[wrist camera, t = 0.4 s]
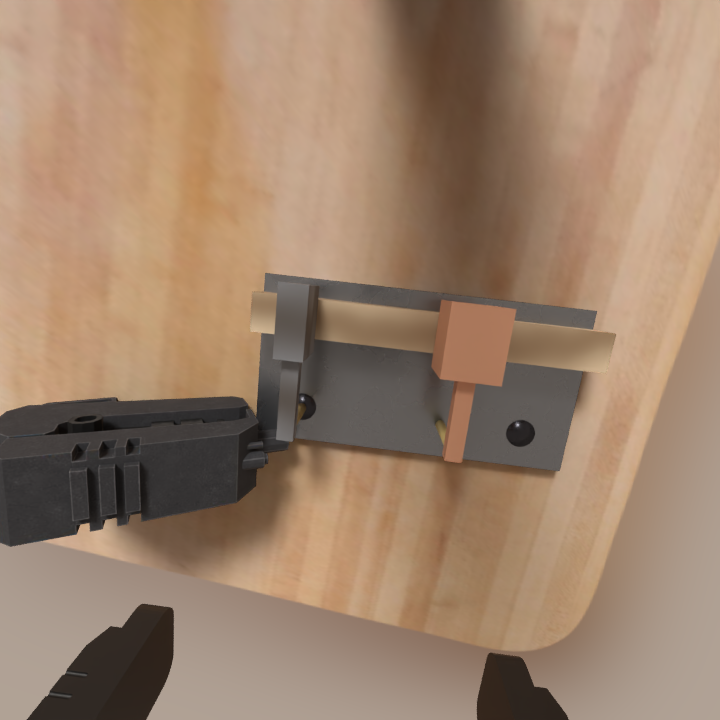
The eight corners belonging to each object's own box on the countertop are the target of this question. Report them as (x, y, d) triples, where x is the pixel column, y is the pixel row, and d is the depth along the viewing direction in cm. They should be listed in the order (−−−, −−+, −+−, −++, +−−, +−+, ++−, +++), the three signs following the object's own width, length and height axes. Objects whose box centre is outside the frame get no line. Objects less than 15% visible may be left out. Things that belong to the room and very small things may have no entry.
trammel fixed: (264, 279, 31) (231, 276, 24) (595, 317, 30) (663, 326, 23) (257, 406, 33) (223, 438, 26) (565, 444, 32) (619, 488, 25)
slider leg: (435, 298, 30) (452, 301, 23) (485, 304, 30) (516, 309, 23) (416, 427, 32) (426, 464, 25) (462, 433, 32) (485, 471, 25)
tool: (30, 381, 31) (-64, 461, 18) (259, 375, 40) (305, 426, 27) (35, 449, 33) (-49, 568, 20) (257, 428, 42) (300, 501, 29)
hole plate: (269, 273, 32) (265, 273, 30) (588, 310, 31) (597, 311, 30) (259, 428, 34) (255, 433, 33) (553, 464, 34) (560, 471, 32)
